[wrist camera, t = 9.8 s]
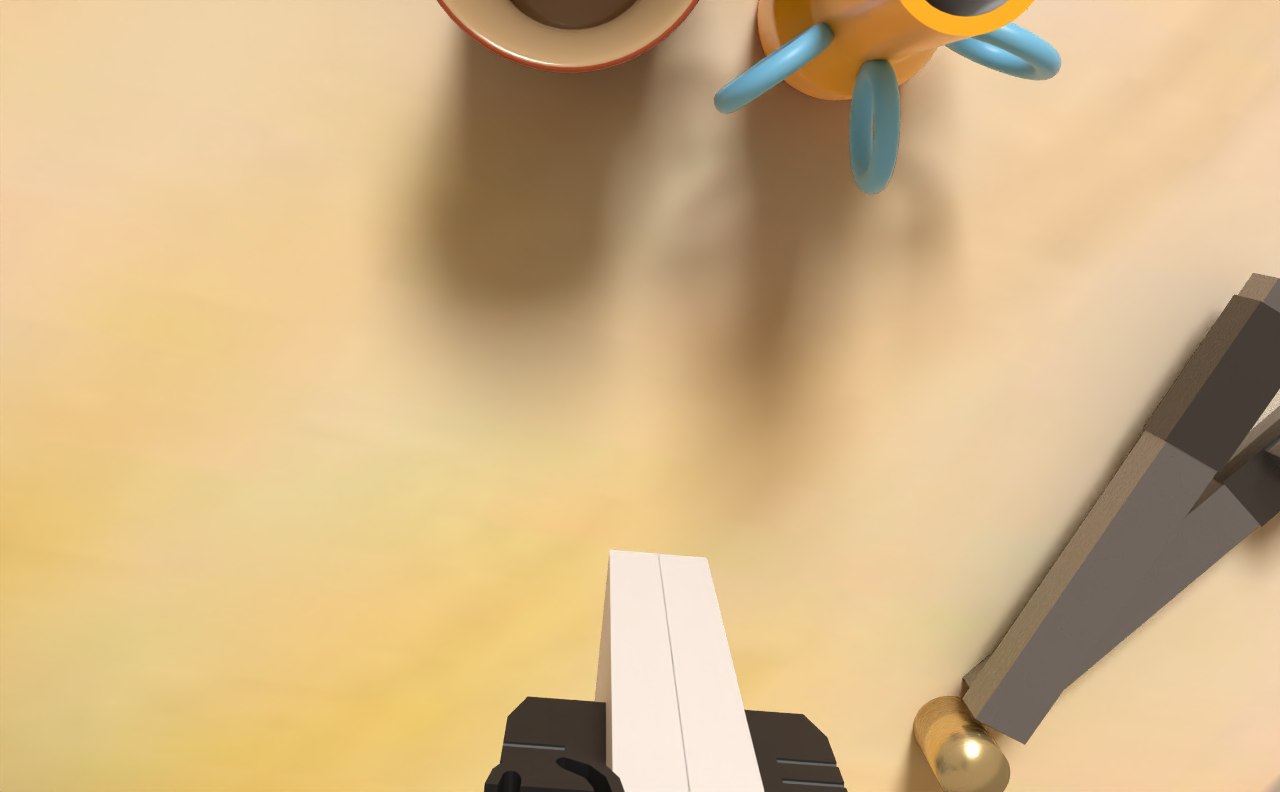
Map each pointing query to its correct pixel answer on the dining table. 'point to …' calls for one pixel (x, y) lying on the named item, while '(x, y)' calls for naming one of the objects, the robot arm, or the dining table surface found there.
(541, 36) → the mug
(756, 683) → the dining table surface
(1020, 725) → the tongs arm
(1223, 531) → the tongs fixed
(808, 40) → the cylinder
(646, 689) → the robot arm
